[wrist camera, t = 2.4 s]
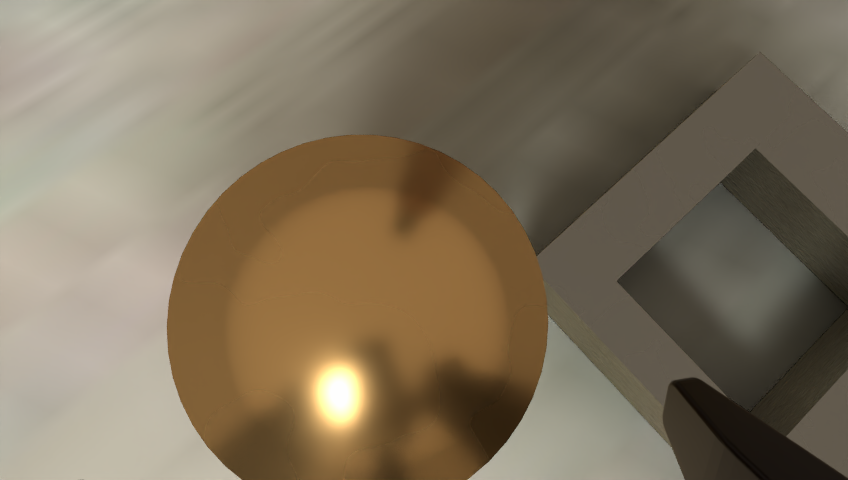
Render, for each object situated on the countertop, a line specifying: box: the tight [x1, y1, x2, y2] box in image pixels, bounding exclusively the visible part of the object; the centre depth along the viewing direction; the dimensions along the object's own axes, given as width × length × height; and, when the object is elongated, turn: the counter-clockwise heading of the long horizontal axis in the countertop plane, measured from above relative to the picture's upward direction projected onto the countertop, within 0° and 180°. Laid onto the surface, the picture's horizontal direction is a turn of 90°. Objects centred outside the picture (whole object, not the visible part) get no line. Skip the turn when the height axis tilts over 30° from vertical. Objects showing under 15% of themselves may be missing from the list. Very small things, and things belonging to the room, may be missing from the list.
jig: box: [536, 52, 848, 478], centre depth 18 cm, size 17×10×2 cm, turn 42°
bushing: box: [167, 135, 548, 480], centre depth 13 cm, size 4×4×12 cm
